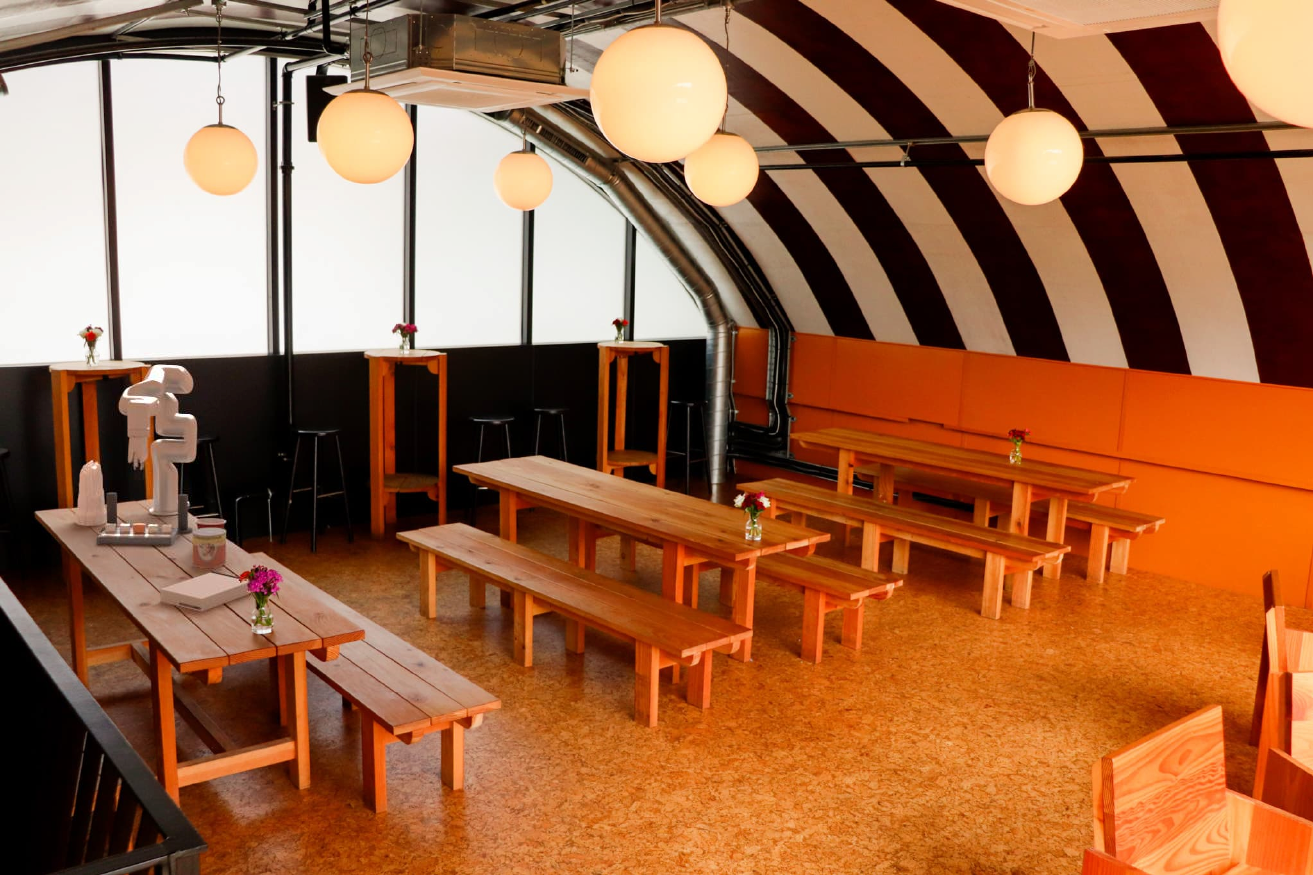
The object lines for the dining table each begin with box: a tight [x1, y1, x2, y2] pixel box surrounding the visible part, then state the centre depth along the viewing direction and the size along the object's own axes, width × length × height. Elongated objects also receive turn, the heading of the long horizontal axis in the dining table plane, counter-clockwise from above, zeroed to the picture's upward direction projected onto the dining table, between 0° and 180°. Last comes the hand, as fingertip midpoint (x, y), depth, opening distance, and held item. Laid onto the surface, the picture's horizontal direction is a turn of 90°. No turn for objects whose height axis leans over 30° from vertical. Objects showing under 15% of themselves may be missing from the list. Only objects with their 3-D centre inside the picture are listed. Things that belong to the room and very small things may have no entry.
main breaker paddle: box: [132, 522, 147, 532], centre depth 401 cm, size 2×4×3 cm, turn 103°
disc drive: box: [159, 570, 250, 612], centre depth 345 cm, size 18×22×5 cm
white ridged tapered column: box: [75, 459, 107, 527], centre depth 417 cm, size 11×11×25 cm
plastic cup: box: [194, 517, 227, 529], centre depth 394 cm, size 11×11×12 cm
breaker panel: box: [96, 523, 181, 546], centre depth 401 cm, size 14×26×6 cm, turn 103°
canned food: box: [192, 528, 227, 569], centre depth 379 cm, size 11×11×12 cm
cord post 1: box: [101, 492, 120, 533], centre depth 410 cm, size 7×7×15 cm
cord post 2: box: [177, 493, 193, 535], centre depth 416 cm, size 7×7×15 cm
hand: (139, 479), depth 398 cm, fingers closed
